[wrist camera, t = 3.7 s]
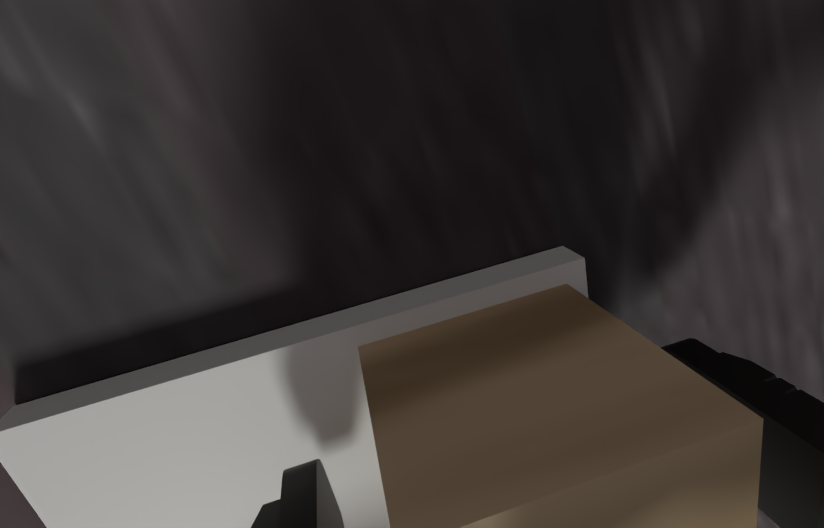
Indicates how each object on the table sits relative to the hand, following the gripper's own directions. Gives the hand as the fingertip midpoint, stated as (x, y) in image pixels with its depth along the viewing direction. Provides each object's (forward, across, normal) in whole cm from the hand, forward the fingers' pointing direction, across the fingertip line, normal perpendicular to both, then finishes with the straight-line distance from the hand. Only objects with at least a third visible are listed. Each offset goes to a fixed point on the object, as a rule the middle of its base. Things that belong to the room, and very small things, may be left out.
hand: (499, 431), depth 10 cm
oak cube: (+1, 0, 0) cm, 1 cm away
